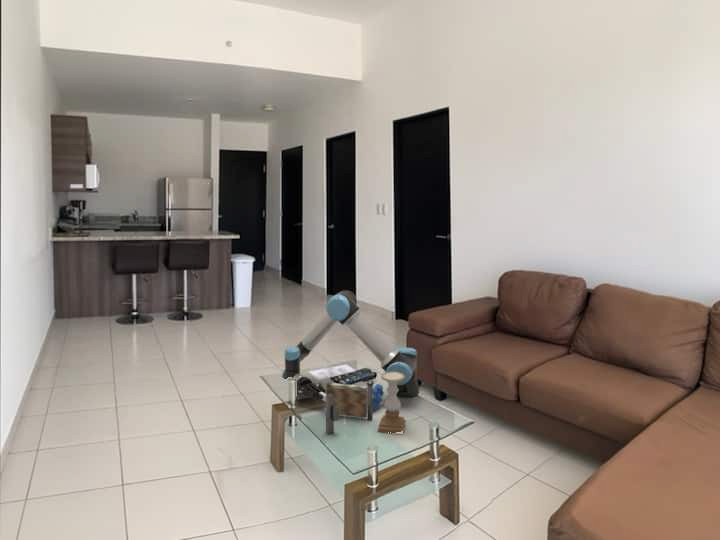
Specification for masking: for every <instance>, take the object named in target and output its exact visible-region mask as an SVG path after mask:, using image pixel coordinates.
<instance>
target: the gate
mask: <svg viewBox="0 0 720 540" xmlns="http://www.w3.org/2000/svg"><path fill="white" fill-rule="evenodd" d="M367 387H368V385H367V386H366V385H365V386H364V385H356V384H347V383H346V384H345V383H336V382H335V383H334V382H327V383H326V394H330V393H331V394H332V395H334V406H339V416H345V417H346V416H348V417H355V418H363V419H367Z"/></svg>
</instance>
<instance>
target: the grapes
mask: <svg viewBox="0 0 720 540" xmlns="http://www.w3.org/2000/svg"><path fill="white" fill-rule="evenodd" d="M384 394H385V393H384V387H383V385H382V384H379V383H377V384H375V386H374V387H373V412H374V411H376V410H378V409H379V408H380V407H381V405H380V404H381V403H382V402H383V398H382V396H384Z"/></svg>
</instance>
